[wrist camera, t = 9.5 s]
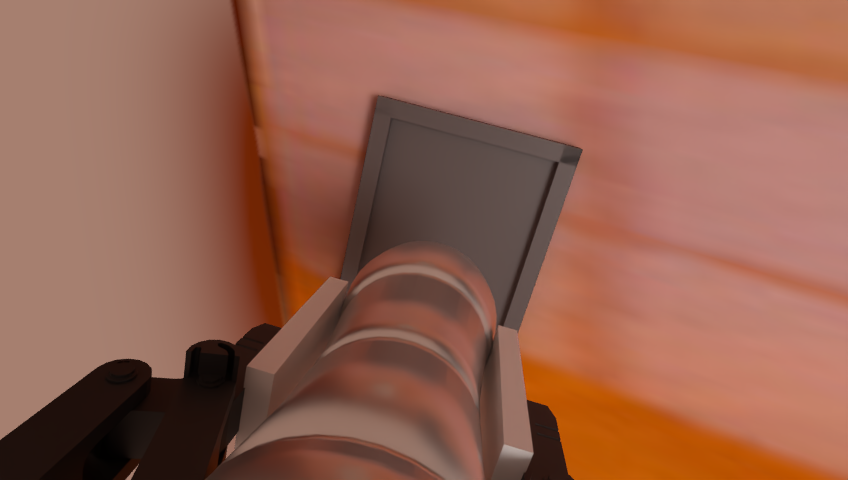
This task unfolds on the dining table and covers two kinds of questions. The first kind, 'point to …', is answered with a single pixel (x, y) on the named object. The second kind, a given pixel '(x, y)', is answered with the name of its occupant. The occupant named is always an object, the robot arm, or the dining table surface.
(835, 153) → the dining table surface
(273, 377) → the robot arm
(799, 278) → the dining table surface
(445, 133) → the tray
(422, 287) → the plastic bottle
